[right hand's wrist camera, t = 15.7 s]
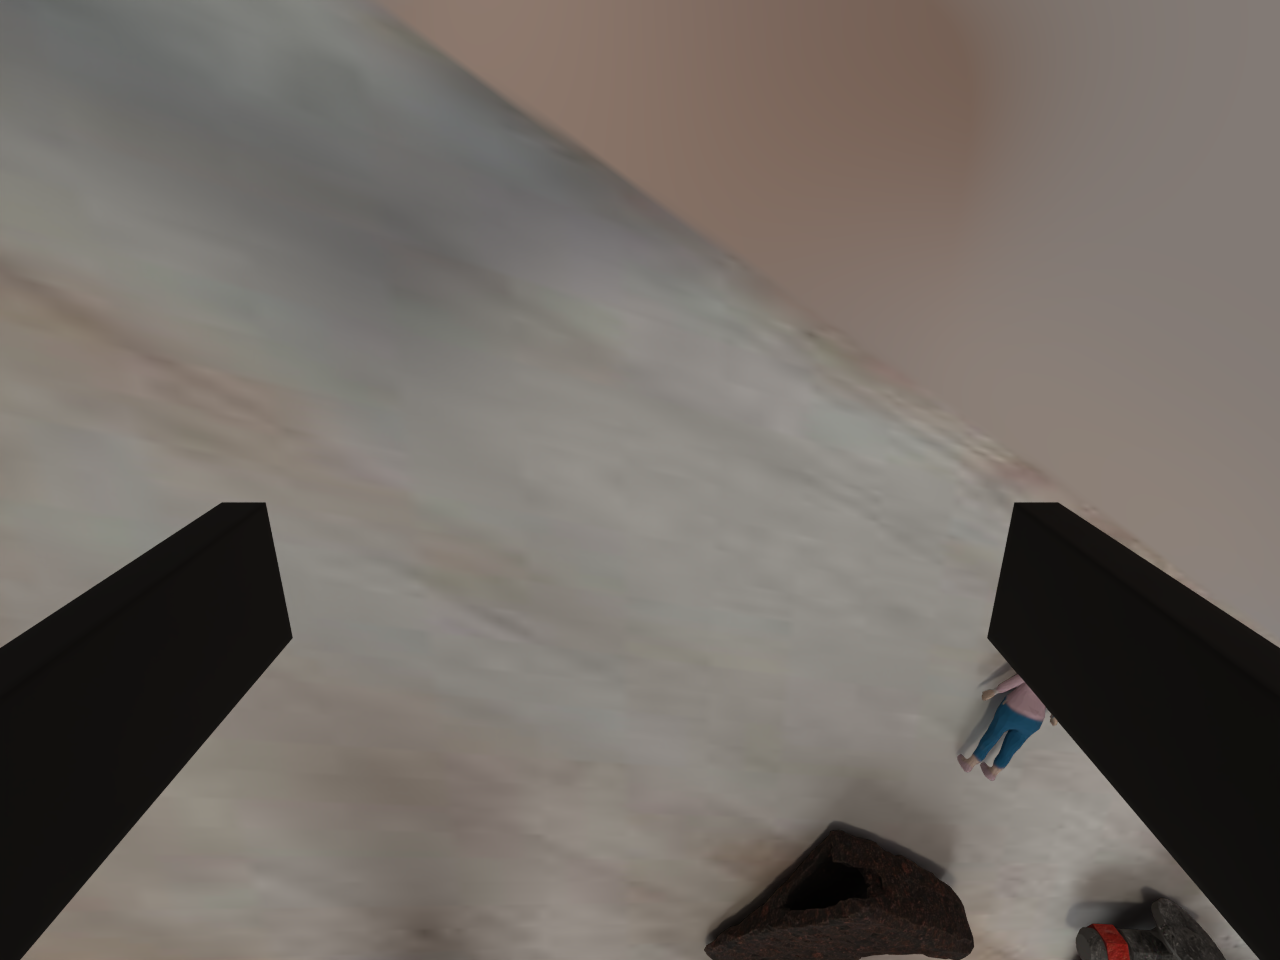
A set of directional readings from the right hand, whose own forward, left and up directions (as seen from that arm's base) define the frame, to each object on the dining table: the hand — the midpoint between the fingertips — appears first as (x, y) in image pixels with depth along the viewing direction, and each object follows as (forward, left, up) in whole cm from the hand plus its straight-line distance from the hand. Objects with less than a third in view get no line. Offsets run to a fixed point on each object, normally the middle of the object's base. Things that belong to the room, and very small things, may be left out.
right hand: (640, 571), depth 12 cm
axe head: (+48, +15, -31) cm, 59 cm away
